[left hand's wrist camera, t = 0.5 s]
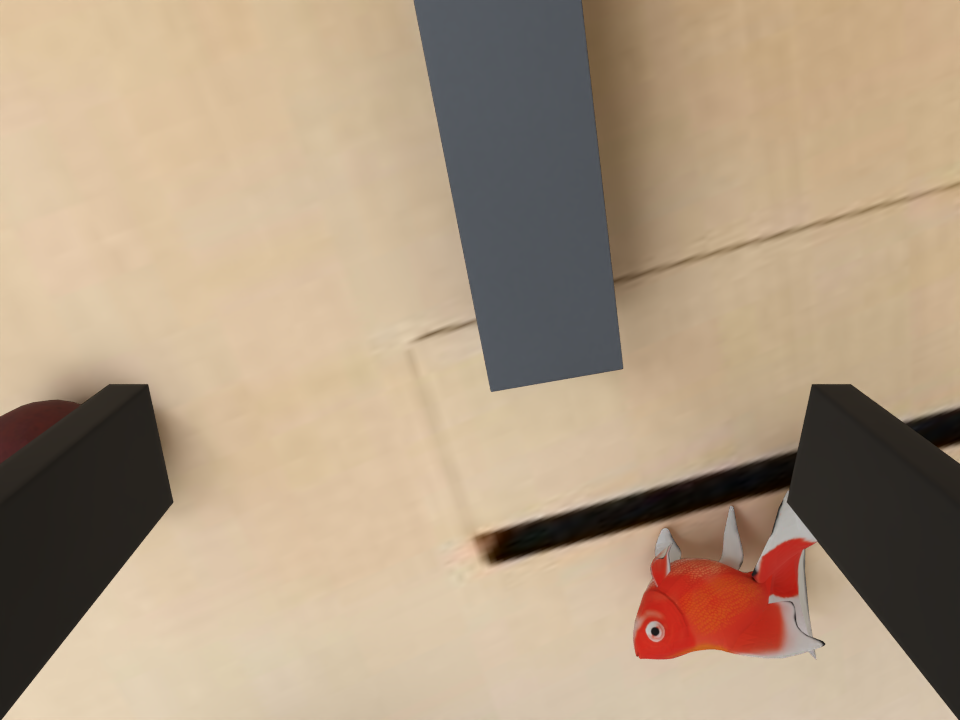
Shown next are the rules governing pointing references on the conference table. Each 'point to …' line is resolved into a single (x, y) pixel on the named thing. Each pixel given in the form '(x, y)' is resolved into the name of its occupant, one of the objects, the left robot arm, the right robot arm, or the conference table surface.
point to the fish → (729, 597)
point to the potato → (30, 423)
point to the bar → (525, 183)
